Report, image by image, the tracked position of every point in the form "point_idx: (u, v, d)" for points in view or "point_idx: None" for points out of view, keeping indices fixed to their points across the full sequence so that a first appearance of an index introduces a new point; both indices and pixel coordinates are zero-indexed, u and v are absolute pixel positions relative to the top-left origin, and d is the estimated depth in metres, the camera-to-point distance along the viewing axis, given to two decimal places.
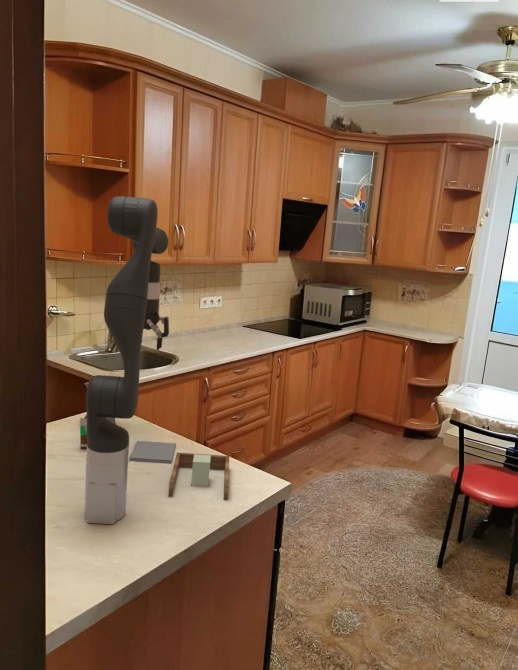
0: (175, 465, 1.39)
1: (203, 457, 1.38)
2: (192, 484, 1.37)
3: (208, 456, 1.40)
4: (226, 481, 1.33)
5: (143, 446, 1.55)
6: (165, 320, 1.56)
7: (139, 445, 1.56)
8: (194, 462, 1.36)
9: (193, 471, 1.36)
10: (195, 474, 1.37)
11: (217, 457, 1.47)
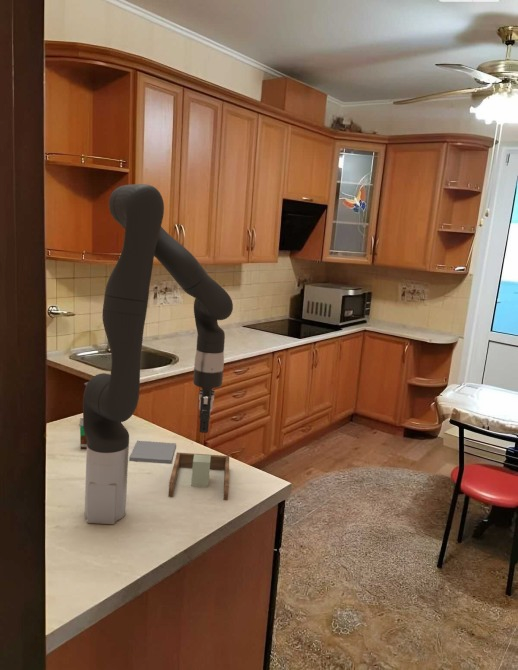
0: (175, 465, 1.39)
1: (203, 457, 1.38)
2: (192, 484, 1.37)
3: (208, 456, 1.40)
4: (226, 481, 1.33)
5: (143, 446, 1.55)
6: None
7: (139, 445, 1.56)
8: (194, 462, 1.36)
9: (193, 471, 1.36)
10: (195, 474, 1.37)
11: (217, 457, 1.47)
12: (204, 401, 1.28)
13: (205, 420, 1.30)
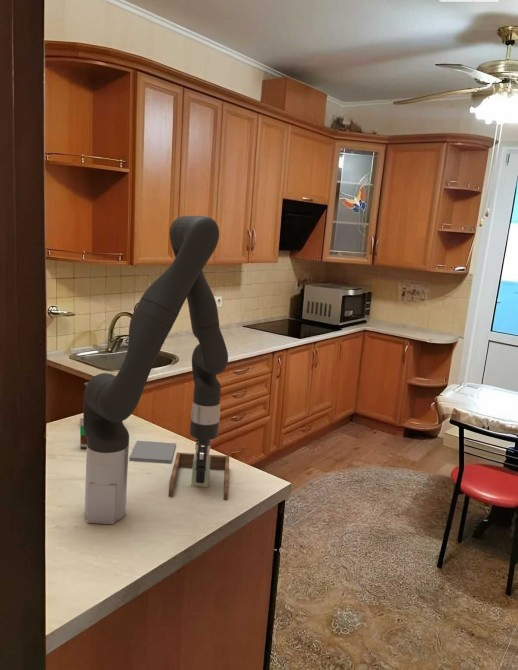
0: (175, 465, 1.39)
1: None
2: (192, 484, 1.37)
3: None
4: (226, 481, 1.33)
5: (143, 446, 1.55)
6: None
7: (139, 445, 1.56)
8: (194, 462, 1.36)
9: (193, 471, 1.36)
10: (195, 474, 1.37)
11: (217, 457, 1.47)
12: (200, 458, 1.31)
13: (201, 471, 1.35)
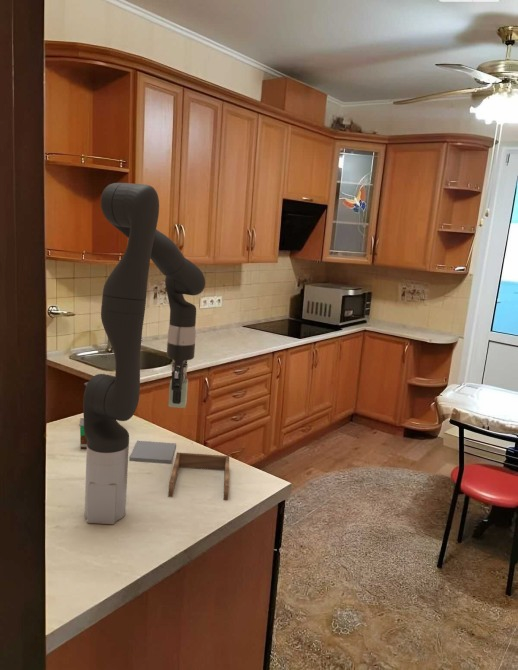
0: (175, 465, 1.39)
1: None
2: (169, 405, 1.42)
3: (185, 379, 1.45)
4: (226, 481, 1.33)
5: (143, 446, 1.55)
6: (186, 362, 1.48)
7: (139, 445, 1.56)
8: (171, 383, 1.41)
9: (170, 392, 1.41)
10: (172, 395, 1.42)
11: (217, 457, 1.47)
12: (175, 376, 1.36)
13: (177, 391, 1.40)
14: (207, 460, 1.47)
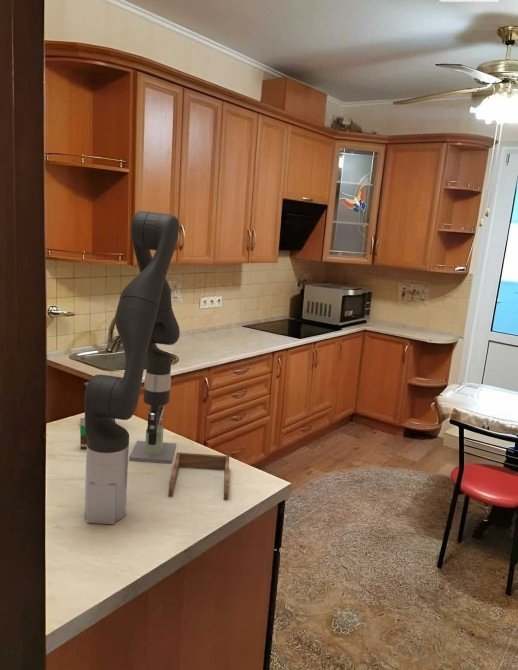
0: (175, 465, 1.39)
1: None
2: (146, 451, 1.51)
3: (161, 426, 1.54)
4: (226, 481, 1.33)
5: (143, 446, 1.55)
6: None
7: (139, 445, 1.56)
8: None
9: (146, 439, 1.51)
10: None
11: (217, 457, 1.47)
12: (151, 418, 1.45)
13: (153, 434, 1.47)
14: (207, 460, 1.47)
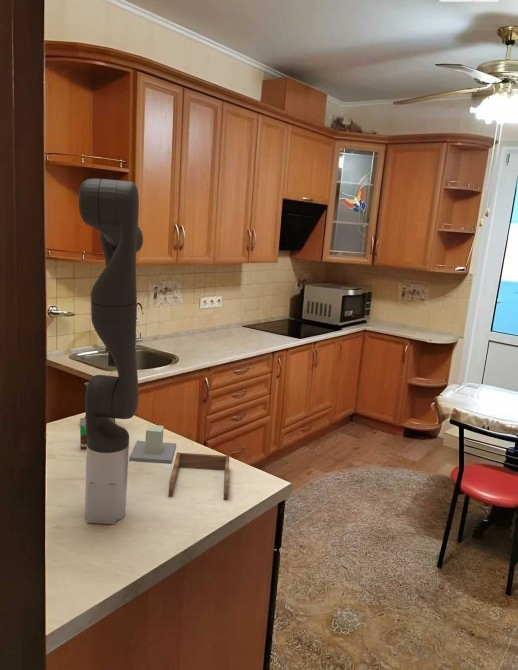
0: (175, 465, 1.39)
1: (156, 427, 1.53)
2: (146, 451, 1.51)
3: (161, 426, 1.54)
4: (226, 481, 1.33)
5: (143, 446, 1.55)
6: None
7: (139, 445, 1.56)
8: (147, 431, 1.50)
9: (146, 439, 1.51)
10: (148, 442, 1.51)
11: (217, 457, 1.47)
12: None
13: None
14: (207, 460, 1.47)
